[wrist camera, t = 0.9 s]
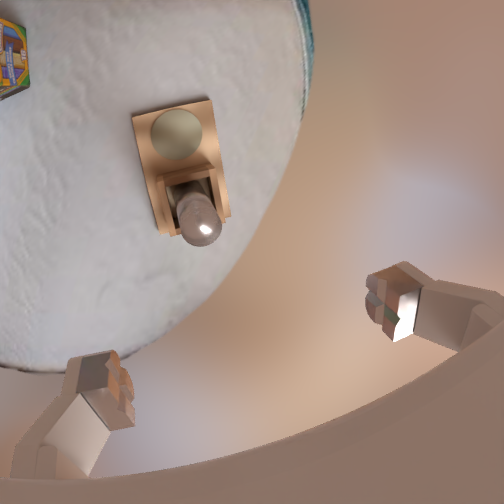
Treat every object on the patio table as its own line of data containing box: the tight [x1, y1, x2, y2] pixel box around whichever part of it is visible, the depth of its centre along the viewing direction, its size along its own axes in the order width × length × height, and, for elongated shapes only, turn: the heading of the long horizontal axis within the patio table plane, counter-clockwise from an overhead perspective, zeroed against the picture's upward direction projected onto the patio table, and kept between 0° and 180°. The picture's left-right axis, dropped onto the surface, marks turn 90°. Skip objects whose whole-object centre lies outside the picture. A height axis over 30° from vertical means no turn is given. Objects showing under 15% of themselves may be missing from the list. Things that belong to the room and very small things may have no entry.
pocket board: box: [132, 100, 231, 237], centre depth 38 cm, size 16×10×5 cm, turn 8°
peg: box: [174, 180, 222, 247], centre depth 36 cm, size 4×4×12 cm
